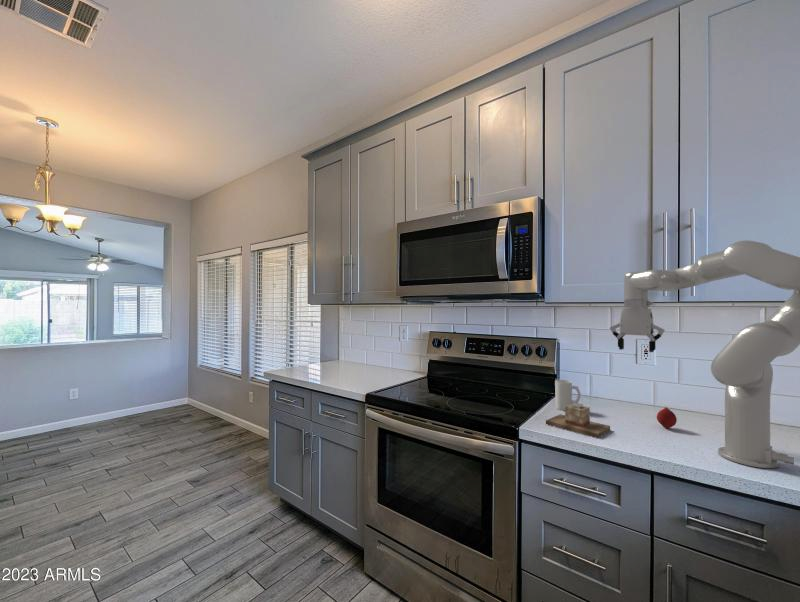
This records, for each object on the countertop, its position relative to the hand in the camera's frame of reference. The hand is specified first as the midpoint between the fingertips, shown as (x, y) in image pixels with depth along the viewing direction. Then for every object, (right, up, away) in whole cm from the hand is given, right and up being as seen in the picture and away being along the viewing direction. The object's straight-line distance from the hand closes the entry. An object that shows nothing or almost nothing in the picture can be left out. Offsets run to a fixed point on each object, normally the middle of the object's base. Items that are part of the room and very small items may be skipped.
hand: (636, 350), depth 131 cm
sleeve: (-23, -27, -2) cm, 35 cm away
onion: (+10, -29, -2) cm, 30 cm away
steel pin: (-23, -27, -2) cm, 35 cm away
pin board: (-23, -28, -2) cm, 36 cm away
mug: (-16, -29, +20) cm, 39 cm away
